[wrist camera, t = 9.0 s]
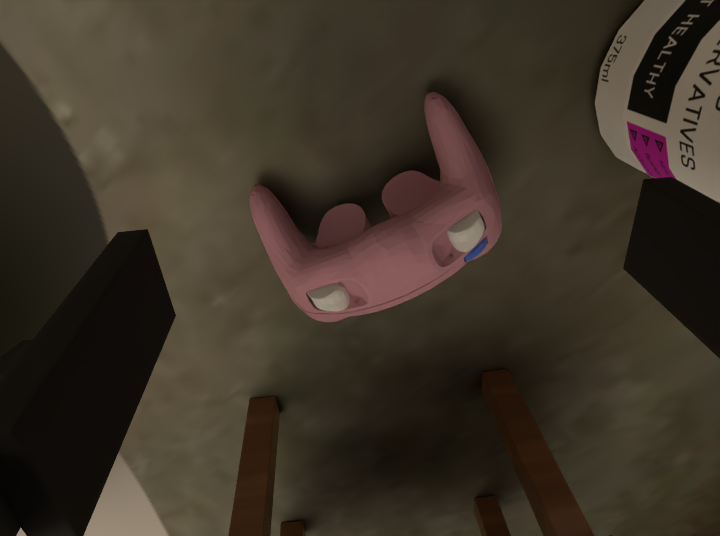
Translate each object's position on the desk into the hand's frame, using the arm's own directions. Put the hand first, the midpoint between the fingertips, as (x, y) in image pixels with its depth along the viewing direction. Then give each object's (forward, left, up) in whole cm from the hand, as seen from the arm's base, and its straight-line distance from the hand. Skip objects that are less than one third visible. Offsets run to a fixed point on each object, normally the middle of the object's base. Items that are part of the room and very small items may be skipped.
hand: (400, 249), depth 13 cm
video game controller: (+2, 0, -10) cm, 10 cm away
